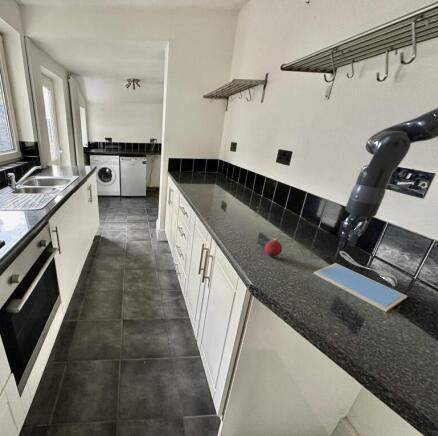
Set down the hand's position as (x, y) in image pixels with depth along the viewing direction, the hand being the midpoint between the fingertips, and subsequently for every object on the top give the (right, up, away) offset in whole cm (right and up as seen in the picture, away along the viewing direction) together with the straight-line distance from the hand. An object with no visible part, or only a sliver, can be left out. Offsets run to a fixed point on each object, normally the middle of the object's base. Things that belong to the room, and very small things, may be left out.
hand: (346, 246), depth 78 cm
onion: (-18, -6, +14) cm, 23 cm away
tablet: (+2, -13, -2) cm, 13 cm away
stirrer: (+13, -9, +8) cm, 18 cm away
